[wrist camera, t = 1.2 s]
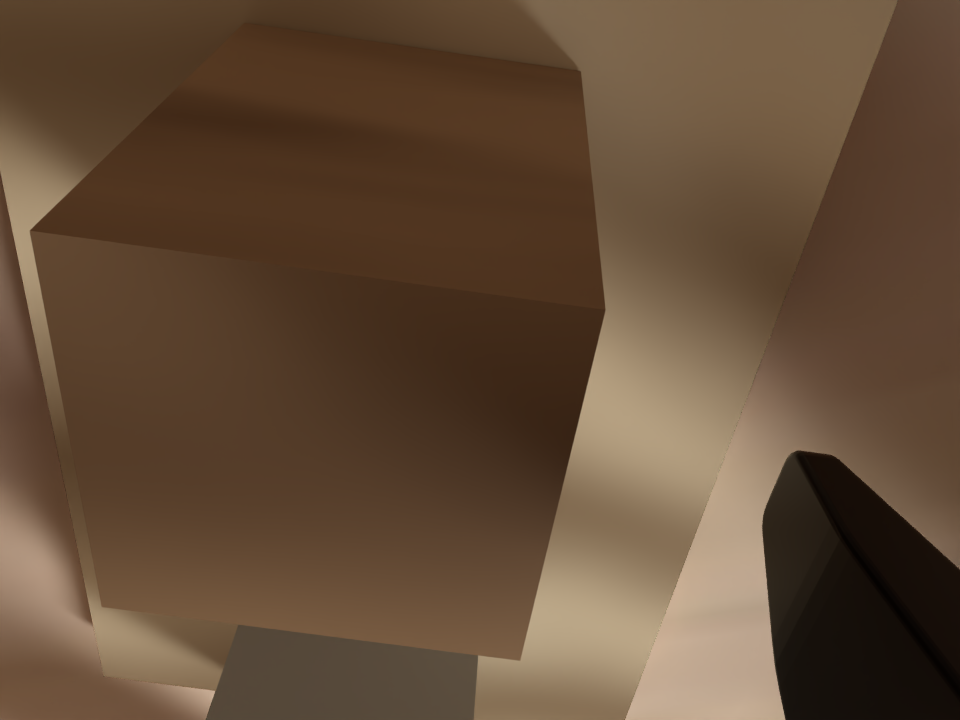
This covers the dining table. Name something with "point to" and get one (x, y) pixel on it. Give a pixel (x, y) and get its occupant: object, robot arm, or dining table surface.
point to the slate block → (340, 680)
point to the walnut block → (331, 340)
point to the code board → (623, 253)
